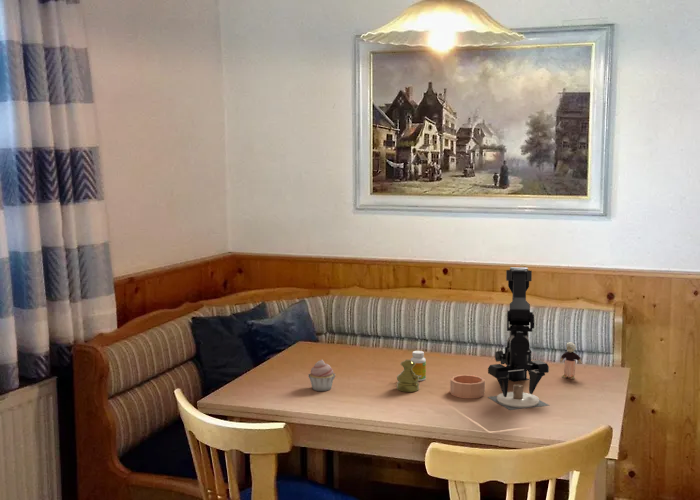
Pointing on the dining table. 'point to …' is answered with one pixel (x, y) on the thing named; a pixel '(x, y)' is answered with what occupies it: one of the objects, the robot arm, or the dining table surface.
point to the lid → (518, 398)
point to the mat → (517, 407)
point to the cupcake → (321, 376)
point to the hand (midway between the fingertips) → (517, 395)
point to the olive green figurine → (408, 378)
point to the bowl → (467, 386)
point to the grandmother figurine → (570, 361)
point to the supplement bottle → (419, 364)
